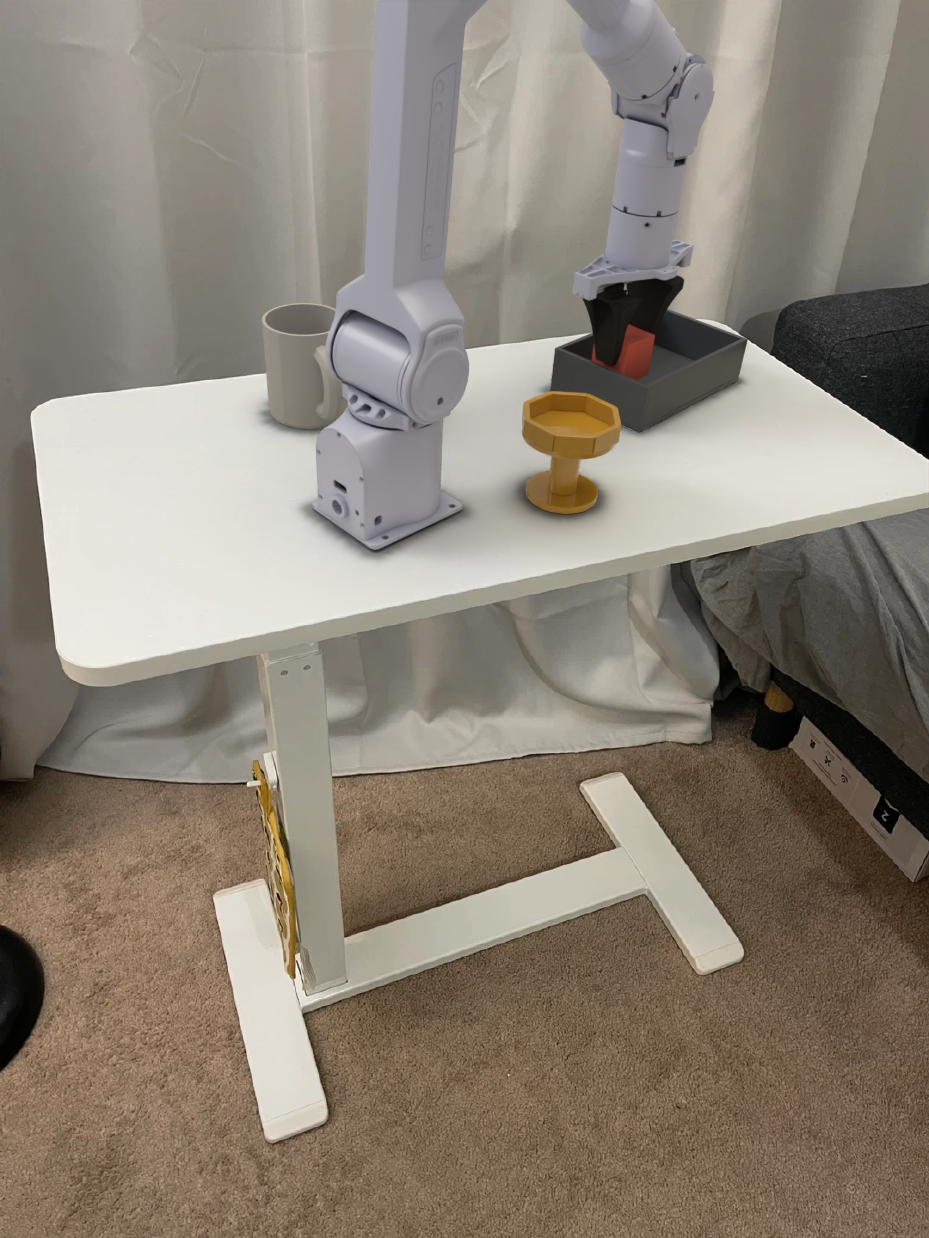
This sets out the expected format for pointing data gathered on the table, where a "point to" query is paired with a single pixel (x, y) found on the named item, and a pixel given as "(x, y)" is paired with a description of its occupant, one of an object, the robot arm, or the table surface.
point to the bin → (656, 370)
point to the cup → (301, 366)
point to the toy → (633, 354)
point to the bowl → (567, 446)
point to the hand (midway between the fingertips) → (621, 355)
